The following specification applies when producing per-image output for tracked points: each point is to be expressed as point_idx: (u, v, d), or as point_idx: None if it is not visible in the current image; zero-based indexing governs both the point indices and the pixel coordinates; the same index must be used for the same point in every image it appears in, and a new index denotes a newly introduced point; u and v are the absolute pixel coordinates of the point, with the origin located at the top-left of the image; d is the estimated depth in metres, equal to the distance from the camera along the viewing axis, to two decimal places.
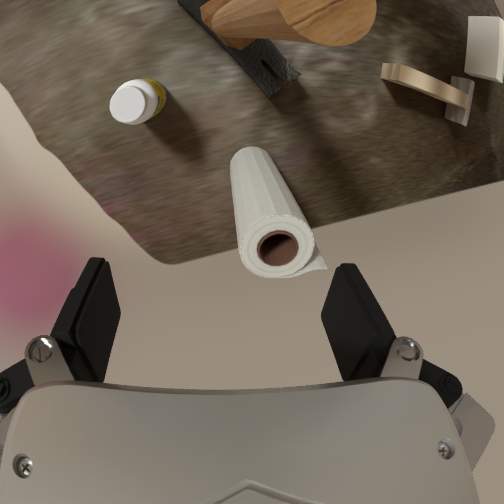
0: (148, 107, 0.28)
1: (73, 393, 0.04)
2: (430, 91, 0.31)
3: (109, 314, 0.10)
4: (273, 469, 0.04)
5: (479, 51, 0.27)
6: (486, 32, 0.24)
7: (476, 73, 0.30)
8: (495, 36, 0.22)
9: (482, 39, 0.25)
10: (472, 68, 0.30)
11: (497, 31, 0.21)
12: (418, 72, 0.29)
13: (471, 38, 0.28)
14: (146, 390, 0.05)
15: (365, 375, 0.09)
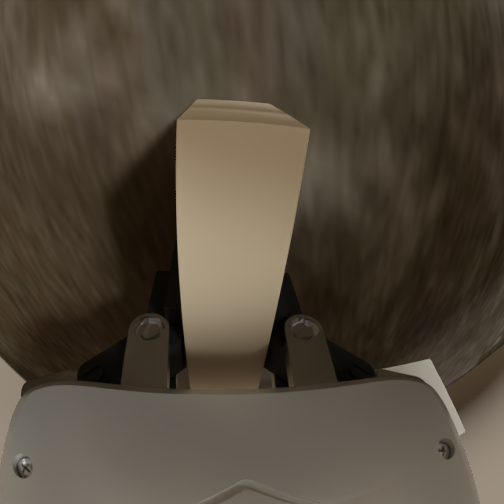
0: None
1: (73, 393, 0.04)
2: (191, 336, 0.08)
3: None
4: (273, 469, 0.04)
5: None
6: None
7: None
8: None
9: None
10: None
11: None
12: (276, 261, 0.07)
13: None
14: (146, 390, 0.05)
15: None
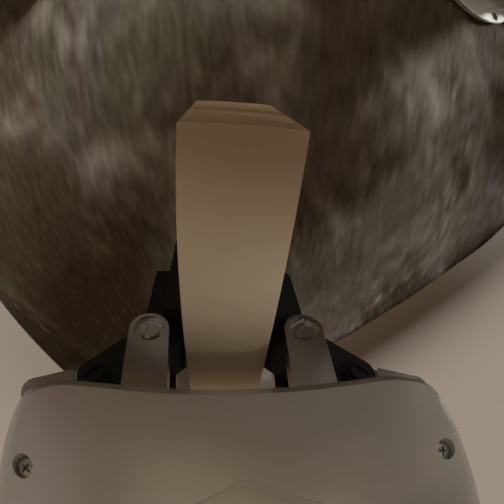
0: None
1: (73, 393, 0.04)
2: (190, 338, 0.08)
3: None
4: (273, 469, 0.04)
5: None
6: None
7: None
8: None
9: None
10: None
11: None
12: (276, 264, 0.07)
13: None
14: (146, 390, 0.05)
15: None
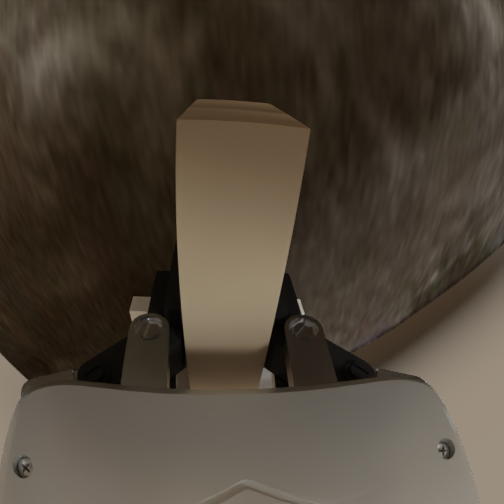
0: None
1: (73, 393, 0.04)
2: (190, 336, 0.08)
3: None
4: (273, 469, 0.04)
5: None
6: None
7: None
8: None
9: None
10: None
11: None
12: (276, 262, 0.07)
13: None
14: (146, 390, 0.05)
15: None
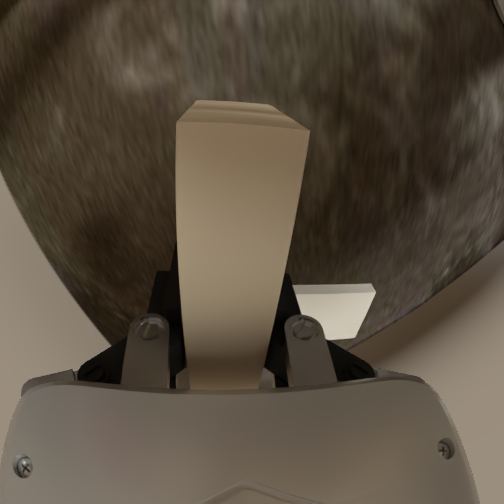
0: None
1: (73, 393, 0.04)
2: (190, 337, 0.08)
3: None
4: (273, 469, 0.04)
5: None
6: (337, 323, 0.34)
7: None
8: (328, 335, 0.35)
9: (328, 318, 0.33)
10: None
11: (335, 336, 0.35)
12: (276, 263, 0.07)
13: (336, 301, 0.32)
14: (146, 390, 0.05)
15: None
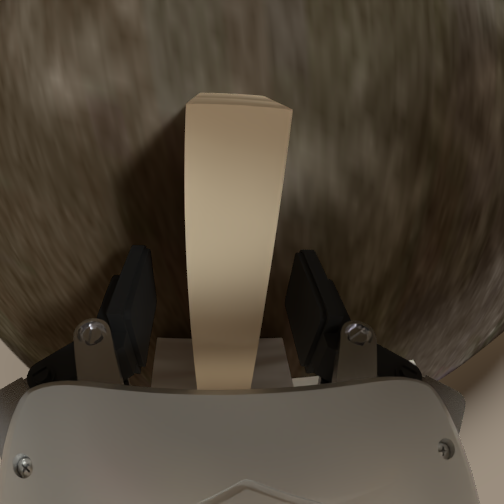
0: None
1: (73, 393, 0.04)
2: (194, 296, 0.09)
3: (149, 300, 0.11)
4: (273, 469, 0.04)
5: None
6: None
7: None
8: None
9: None
10: None
11: None
12: (268, 223, 0.08)
13: None
14: (146, 390, 0.05)
15: (318, 359, 0.09)
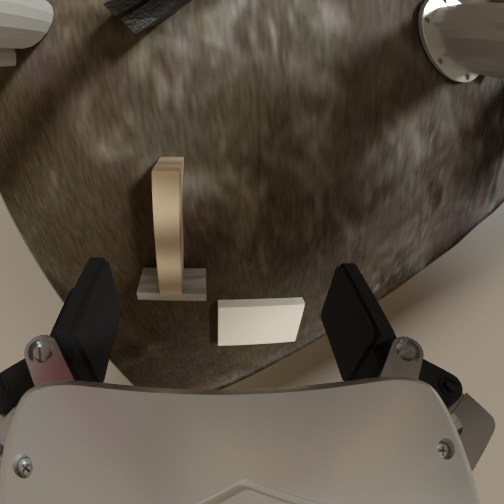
0: None
1: (73, 393, 0.04)
2: (156, 228, 0.28)
3: (109, 314, 0.10)
4: (273, 469, 0.04)
5: (250, 324, 0.41)
6: (276, 329, 0.43)
7: (219, 323, 0.40)
8: (270, 339, 0.44)
9: (267, 325, 0.42)
10: (225, 318, 0.40)
11: (276, 340, 0.44)
12: (176, 202, 0.26)
13: (270, 311, 0.40)
14: (146, 390, 0.05)
15: (365, 375, 0.09)
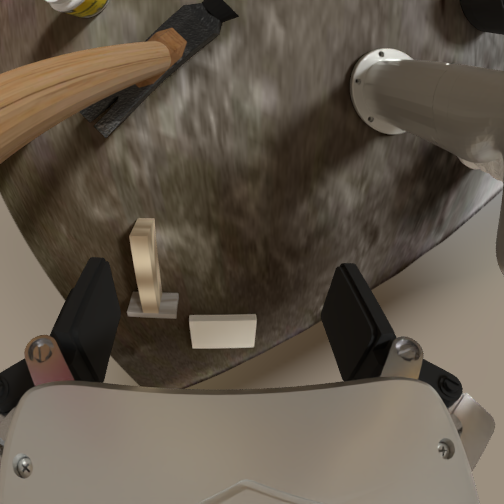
0: (59, 4, 0.16)
1: (73, 393, 0.04)
2: (136, 271, 0.39)
3: (109, 314, 0.10)
4: (273, 469, 0.04)
5: (215, 333, 0.53)
6: (236, 338, 0.54)
7: (191, 332, 0.52)
8: (233, 345, 0.55)
9: (228, 334, 0.53)
10: (195, 329, 0.52)
11: (238, 346, 0.56)
12: (148, 256, 0.38)
13: (229, 325, 0.52)
14: (146, 390, 0.05)
15: (365, 375, 0.09)
